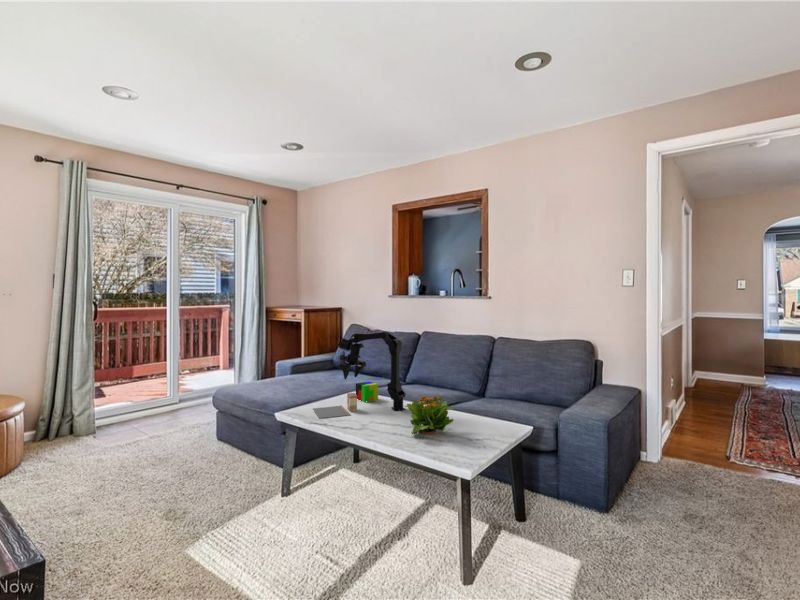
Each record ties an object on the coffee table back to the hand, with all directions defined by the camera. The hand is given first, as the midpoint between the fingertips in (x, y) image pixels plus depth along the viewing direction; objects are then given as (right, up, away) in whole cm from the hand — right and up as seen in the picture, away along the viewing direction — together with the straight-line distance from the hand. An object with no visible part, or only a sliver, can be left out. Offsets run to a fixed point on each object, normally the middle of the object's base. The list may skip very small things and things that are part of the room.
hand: (350, 378), depth 253 cm
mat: (-8, -15, -20) cm, 26 cm away
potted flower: (+43, -16, -52) cm, 70 cm away
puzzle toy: (+9, -15, +9) cm, 20 cm away
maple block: (+3, -15, -15) cm, 22 cm away
